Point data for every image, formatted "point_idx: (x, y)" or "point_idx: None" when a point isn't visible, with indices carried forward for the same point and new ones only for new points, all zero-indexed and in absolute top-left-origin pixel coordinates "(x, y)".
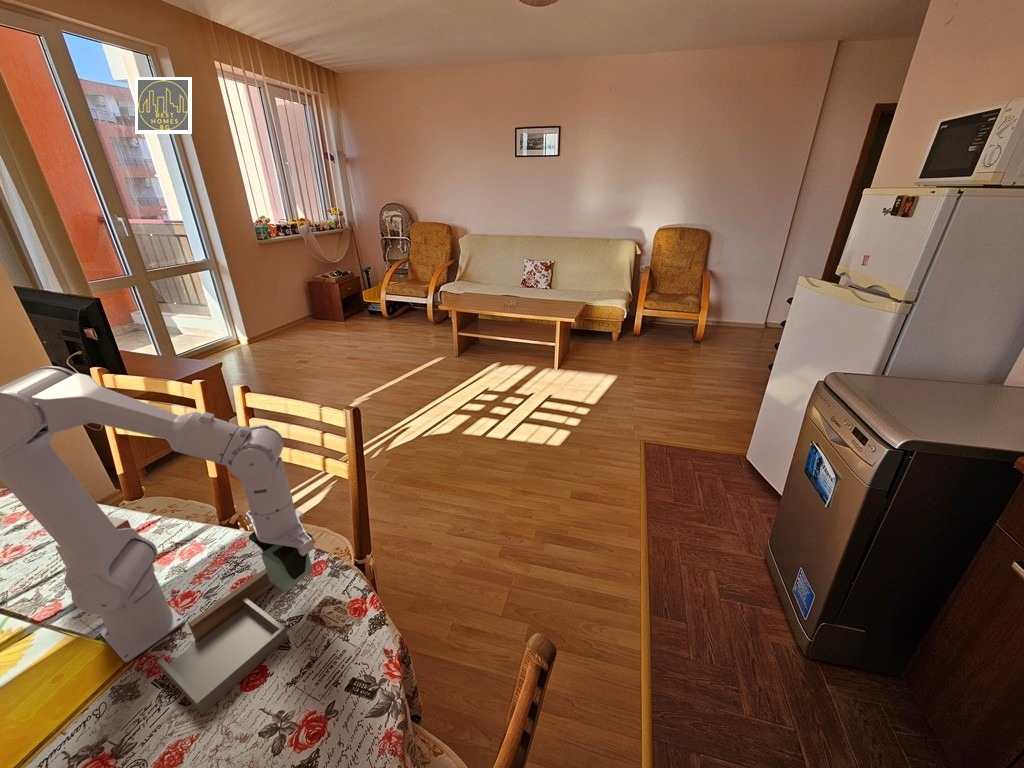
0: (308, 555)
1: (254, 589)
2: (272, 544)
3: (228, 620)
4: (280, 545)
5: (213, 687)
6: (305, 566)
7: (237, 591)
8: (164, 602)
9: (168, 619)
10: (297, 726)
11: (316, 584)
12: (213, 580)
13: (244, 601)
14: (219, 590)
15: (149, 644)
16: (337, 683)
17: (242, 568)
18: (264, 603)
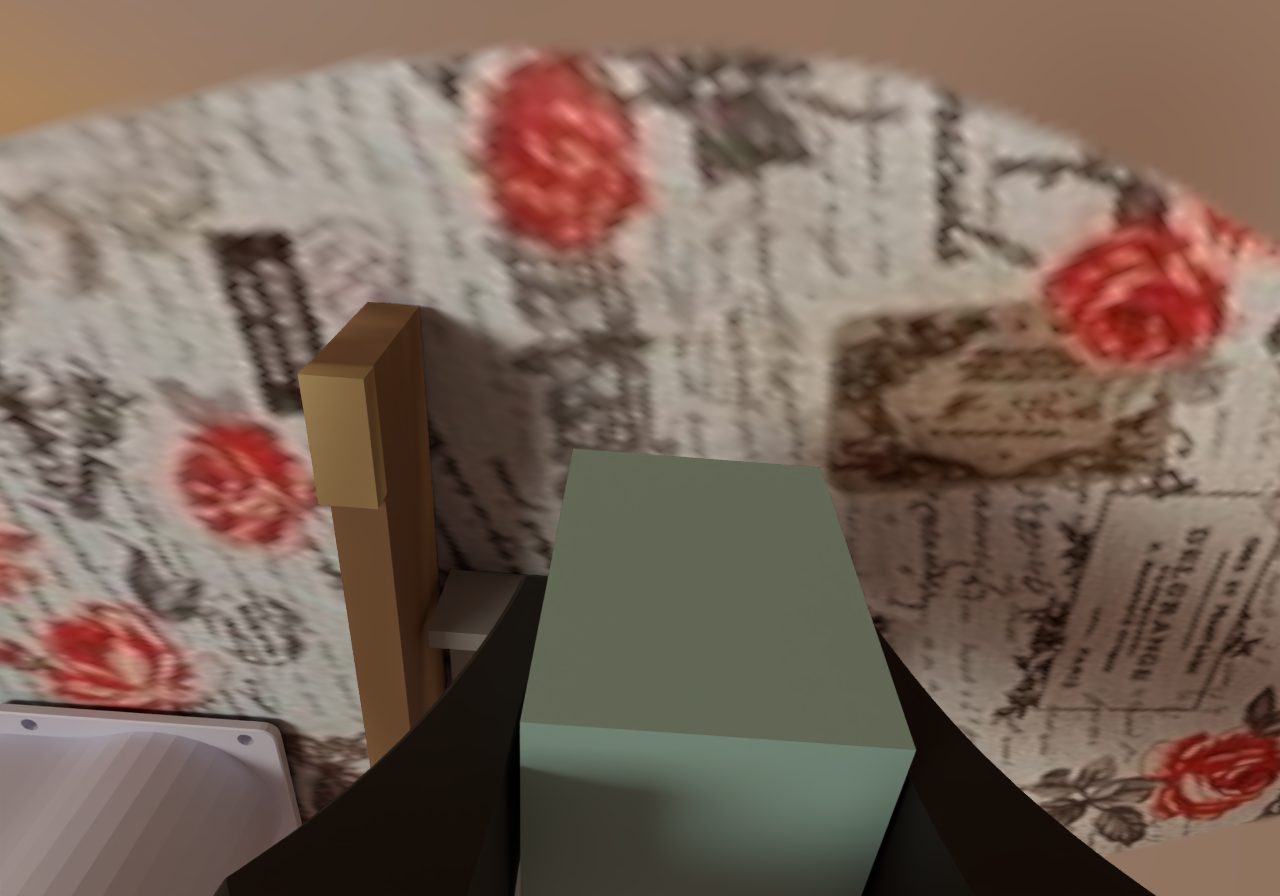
0: (864, 607)
1: (414, 567)
2: (506, 889)
3: (461, 667)
4: (601, 856)
5: None
6: (880, 633)
7: (386, 676)
8: (152, 863)
9: (226, 785)
10: (1156, 781)
11: (690, 286)
12: (63, 540)
13: (465, 649)
14: (182, 566)
15: (293, 826)
16: (1244, 644)
17: (84, 414)
18: (508, 521)
